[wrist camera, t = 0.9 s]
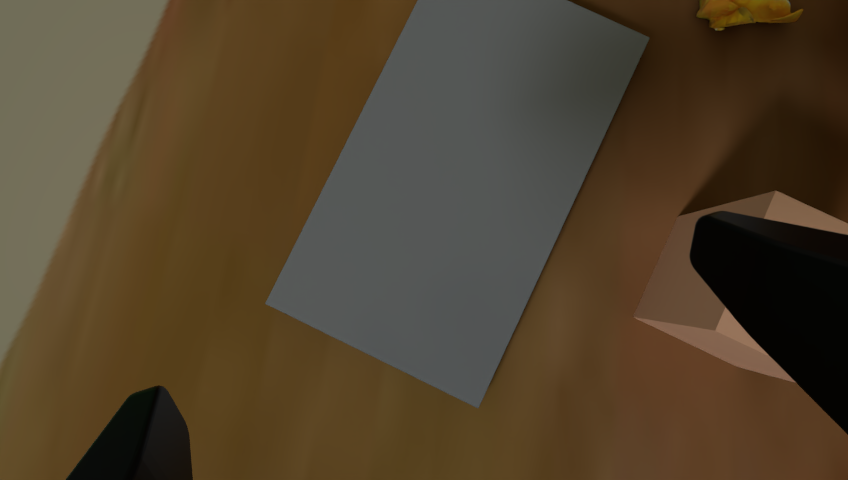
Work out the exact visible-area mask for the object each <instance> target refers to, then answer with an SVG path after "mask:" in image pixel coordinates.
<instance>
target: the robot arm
mask: <svg viewBox="0 0 848 480" xmlns="http://www.w3.org/2000/svg"><path fill="white" fill-rule="evenodd" d="M689 257H690V262H691V265H692V267H693V268H694V270H695V271H696V272H697V273H698V274H699V276H700V277H701V278H702V279H703V280H704V282H705V283H706V284H707V285H708V287H709V288H710V289H711V290H712V291H713V293H714V294H715V295H716V296H717V297H718V299H719V300H720V301H721V302H722V304H723V305H724V306H725V307H726V308H727V310H728V311H729V312H730V313H731V314H732V316H733V317H734V318H735V319H736V321H737V322H738V323H739V324H740V325H741V326H742V328H743V329H744V330H745V331H746V332H747V333H748V334H749V335H750V336H751V338H752V339H753V340H754V341H755V342H756V343H757V344H758V345H759V346H760V347H761V348H762V349H763V350H764V351H765V352H766V353H767V354H768V355H769V356H770V357H771V358H772V359H773V360H774V361H775V362H776V363H777V364H778V365H779V366H780V367H781V368H782V369H783V370H784V371H785V372H786V373H787V374H788V375H789V376H790V377H791V378H792V379H793V380H794V381H795V382H796V383H797V384H798V385H799V386H800V387H801V388H802V389H803V390H804V391H805V392H806V393H807V394H808V395H809V396H810V397H811V398H812V399H813V400H814V401H815V402H816V403H817V404H818V405H819V406H820V407H821V408H822V409H823V410H824V411H825V412H826V413H827V414H828V415H829V416H830V417H831V418H832V419H833V420H834V421H835V422H836V423H837V424H838V425H839V426H840V427H841V428H842V429H843V430H844V431H845V432H846V433H847V434H848V235H846V234H841V233H836V232H831V231H826V230H821V229H815V228H810V227H805V226H800V225H795V224H790V223H785V222H779V221H774V220H769V219H764V218H759V217H754V216H749V215H743V214H738V213H733V212H728V211H716V212H713V213H710V214H707V215H704V216H701V217H700V218H699V219H698V220H697V222H696V224H695V228H694V233H693V238H692V243H691V248H690V254H689ZM66 480H193V477H192V464H191V452H190V439H189V432H188V428H187V425H186V422H185V420H184V419H183V417H182V415H181V413H180V412H179V410H178V408H177V406H176V405H175V403H174V401H173V399H172V398H171V396H170V394H169V392H168V391H167V390H166V389H165V388H164V387H163V386H154V387H151V388H148V389H145V390H142V391H138V392H135V393H133V394H131V395H130V396H129V397H128V398H127V399H126V401H125V402H124V403H123V405H122V406H121V407H120V408H119V410H118V411H117V412H116V414H115V415H114V416H113V418H112V419H111V420H110V422H109V423H108V424H107V426H106V427H105V428H104V430H103V431H102V432H101V434H100V435H99V436H98V438H97V439H96V440H95V441H94V443H93V444H92V445H91V447H90V448H89V449H88V451H87V452H86V453H85V455H84V456H83V457H82V459H81V460H80V461H79V463H78V464H77V465H76V467H75V468H74V469H73V471H72V472H71V473H70V474H69V476H68V477H67V478H66Z"/></svg>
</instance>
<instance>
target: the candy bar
mask: <svg viewBox="0 0 848 480" xmlns="http://www.w3.org/2000/svg"><path fill="white" fill-rule="evenodd" d="M699 4H700V10H699V11H698V12H697V14H696V16H697V17H698V18H702V19H707V20H709V27H710V28H713V29H715V30H716V31H722V30H723V29H725V28H721V27H728V26H734V25H740V24H747V23H756V22H768V23H792V22H796V21H797V20H798V19H799V17H800V15H801V14H802V13H803V9H800V10H798V11H796V12H794V13H791V11H790V2H789V0H700V1H699Z"/></svg>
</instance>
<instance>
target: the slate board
mask: <svg viewBox="0 0 848 480" xmlns="http://www.w3.org/2000/svg"><path fill="white" fill-rule="evenodd" d="M648 40H649V37H647V36H645V35H643V34H641V33H638V32H636V31H634V30H632V29H630V28H627V27H625V26H623V25H621V24H618V23H616V22H614V21H612V20H610V19H607V18H605V17H603V16H601V15H599V14H596V13H594V12H592V11H590V10H588V9H585V8H583V7H581V6H579V5H576V4H574V3H572V2H570V1H568V0H418V1H417V3H416V5H415V7H414V9H413V11H412V13H411V15H410V17H409V19H408V21H407V23H406V25H405V27H404V29H403V31H402V33H401V35H400V37H399V39H398V41H397V43H396V45H395V47H394V49H393V51H392V53H391V55H390V57H389V59H388V61H387V63H386V65H385V67H384V69H383V71H382V73H381V74H380V76H379V78H378V80H377V82H376V84H375V86H374V88H373V90H372V92H371V94H370V96H369V98H368V100H367V102H366V104H365V106H364V108H363V110H362V112H361V114H360V116H359V118H358V120H357V122H356V124H355V126H354V128H353V130H352V132H351V134H350V136H349V138H348V140H347V142H346V144H345V146H344V148H343V150H342V152H341V154H340V156H339V158H338V160H337V162H336V164H335V166H334V168H333V170H332V172H331V174H330V176H329V178H328V180H327V182H326V184H325V186H324V188H323V190H322V192H321V194H320V196H319V198H318V200H317V202H316V204H315V206H314V208H313V210H312V212H311V214H310V216H309V218H308V220H307V222H306V224H305V226H304V228H303V230H302V232H301V234H300V236H299V238H298V240H297V242H296V244H295V246H294V248H293V250H292V252H291V254H290V256H289V257H288V259H287V261H286V263H285V265H284V267H283V269H282V271H281V273H280V275H279V277H278V279H277V281H276V283H275V285H274V287H273V289H272V291H271V293H270V295H269V297H268V299H267V301H266V303H265V304H267V305H269V306H271V307H273V308H275V309H277V310H279V311H281V312H283V313H285V314H287V315H290V316H292V317H294V318H296V319H298V320H300V321H302V322H304V323H306V324H308V325H310V326H312V327H314V328H316V329H318V330H320V331H322V332H324V333H326V334H328V335H330V336H332V337H334V338H336V339H338V340H340V341H342V342H344V343H346V344H348V345H350V346H353V347H355V348H357V349H359V350H361V351H363V352H365V353H367V354H369V355H371V356H373V357H375V358H377V359H379V360H381V361H383V362H385V363H387V364H389V365H391V366H393V367H395V368H397V369H399V370H401V371H403V372H405V373H407V374H409V375H411V376H413V377H415V378H418V379H420V380H422V381H424V382H426V383H428V384H430V385H432V386H434V387H436V388H438V389H440V390H442V391H444V392H446V393H448V394H450V395H452V396H454V397H456V398H458V399H460V400H462V401H464V402H466V403H468V404H470V405H472V406H474V407H476V408H479V405H480V403H481V401H482V399H483V397H484V395H485V392H486V390H487V388H488V386H489V384H490V382H491V379H492V377H493V375H494V373H495V371H496V369H497V367H498V364H499V362H500V360H501V358H502V356H503V354H504V351H505V349H506V347H507V345H508V343H509V341H510V338H511V336H512V334H513V332H514V330H515V328H516V325H517V323H518V321H519V319H520V317H521V315H522V313H523V310H524V308H525V306H526V304H527V302H528V300H529V297H530V295H531V293H532V291H533V289H534V287H535V284H536V282H537V280H538V278H539V276H540V274H541V272H542V269H543V267H544V265H545V263H546V261H547V259H548V256H549V254H550V252H551V250H552V248H553V246H554V243H555V241H556V239H557V237H558V235H559V233H560V230H561V228H562V226H563V224H564V222H565V220H566V218H567V215H568V213H569V211H570V209H571V207H572V205H573V202H574V200H575V198H576V196H577V194H578V192H579V189H580V187H581V185H582V183H583V181H584V179H585V176H586V174H587V172H588V170H589V168H590V166H591V164H592V161H593V159H594V157H595V155H596V153H597V151H598V148H599V146H600V144H601V142H602V140H603V138H604V135H605V133H606V131H607V129H608V127H609V125H610V122H611V120H612V118H613V116H614V114H615V112H616V110H617V107H618V105H619V103H620V101H621V99H622V97H623V94H624V92H625V90H626V88H627V86H628V84H629V81H630V79H631V77H632V75H633V73H634V71H635V69H636V66H637V64H638V62H639V60H640V58H641V56H642V53H643V51H644V49H645V47H646V45H647V43H648Z"/></svg>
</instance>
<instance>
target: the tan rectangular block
mask: <svg viewBox="0 0 848 480" xmlns="http://www.w3.org/2000/svg"><path fill="white" fill-rule="evenodd" d="M716 211H728V212H733V213H738V214H743V215H749V216H754V217H759V218H764V219H769V220H774V221H779V222H785V223H790V224H795V225H800V226H805V227H810V228H815V229H821V230H826V231H831V232H836V233H841V234H846V235H848V223H845V222H843V221H841V220H839V219H837V218H835V217H832V216H830V215H828V214H826V213H824V212H822V211H819V210H817V209H815V208H813V207H811V206H809V205H806V204H804V203H802V202H800V201H798V200H796V199H793V198H791V197H789V196H787V195H785V194H783V193H780V192H778V191H772V192H768V193H765V194H761V195H757V196H753V197H749V198H746V199H742V200H738V201H734V202H730V203H727V204H723V205H719V206H715V207H712V208H708V209H704V210H700V211H696V212H693V213H689V214H685V215H681V216H678V217H677V219H676V222H675V224H674V226H673V228H672V231H671V233H670V235H669V237H668V240H667V242H666V244H665V246H664V249H663V251H662V253H661V255H660V258H659V260H658V262H657V264H656V267H655V269H654V271H653V273H652V275H651V278H650V280H649V282H648V284H647V287H646V289H645V291H644V293H643V296H642V298H641V300H640V302H639V305H638V307H637V309H636V311H635V314H634V316H633V317H634V318H636V319H638V320H640V321H642V322H644V323H647V324H649V325H651V326H653V327H655V328H657V329H659V330H661V331H663V332H665V333H668V334H670V335H672V336H674V337H676V338H678V339H680V340H682V341H684V342H686V343H688V344H691V345H693V346H695V347H697V348H699V349H701V350H703V351H705V352H707V353H709V354H711V355H714V356H716V357H718V358H720V359H722V360H724V361H726V362H728V363H730V364H732V365H735V366H737V367H740V368H744V369H747V370H751V371H755V372H758V373H762V374H766V375H769V376H773V377H777V378H780V379H784V380H788V381H791V382H795V381H794V380H793V379H792V378H791V377H790V376H789V375H788V374H787V373H786V372H785V371H784V370H783V369H782V368H781V367H780V366H779V365H778V364H777V363H776V362H775V361H774V360H773V359H772V358H771V357H770V356H769V355H768V354H767V353H766V352H765V351H764V350H763V349H762V348H761V347H760V346H759V345H758V344H757V343H756V342H755V341H754V340H753V339H752V338H751V336H750V335H749V334H748V333H747V332H746V331H745V330H744V329H743V328H742V326H741V325H740V324H739V323H738V322H737V321H736V319H735V318H734V317H733V316H732V314H731V313H730V312H729V311H728V310H727V308H726V307H725V306H724V305H723V304H722V302H721V301H720V300H719V299H718V297H717V296H716V295H715V294H714V293H713V291H712V290H711V289H710V288H709V287H708V285H707V284H706V283H705V282H704V280H703V279H702V278H701V277H700V276H699V274H698V273H697V272H696V271H695V270H694V268H693V267H692V265H691V262H690V257H689V254H690V248H691V243H692V238H693V233H694V228H695V224H696V222H697V220H698V219H699V218H700V217H701V216H704V215H707V214H710V213H713V212H716ZM795 383H796V382H795Z"/></svg>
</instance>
